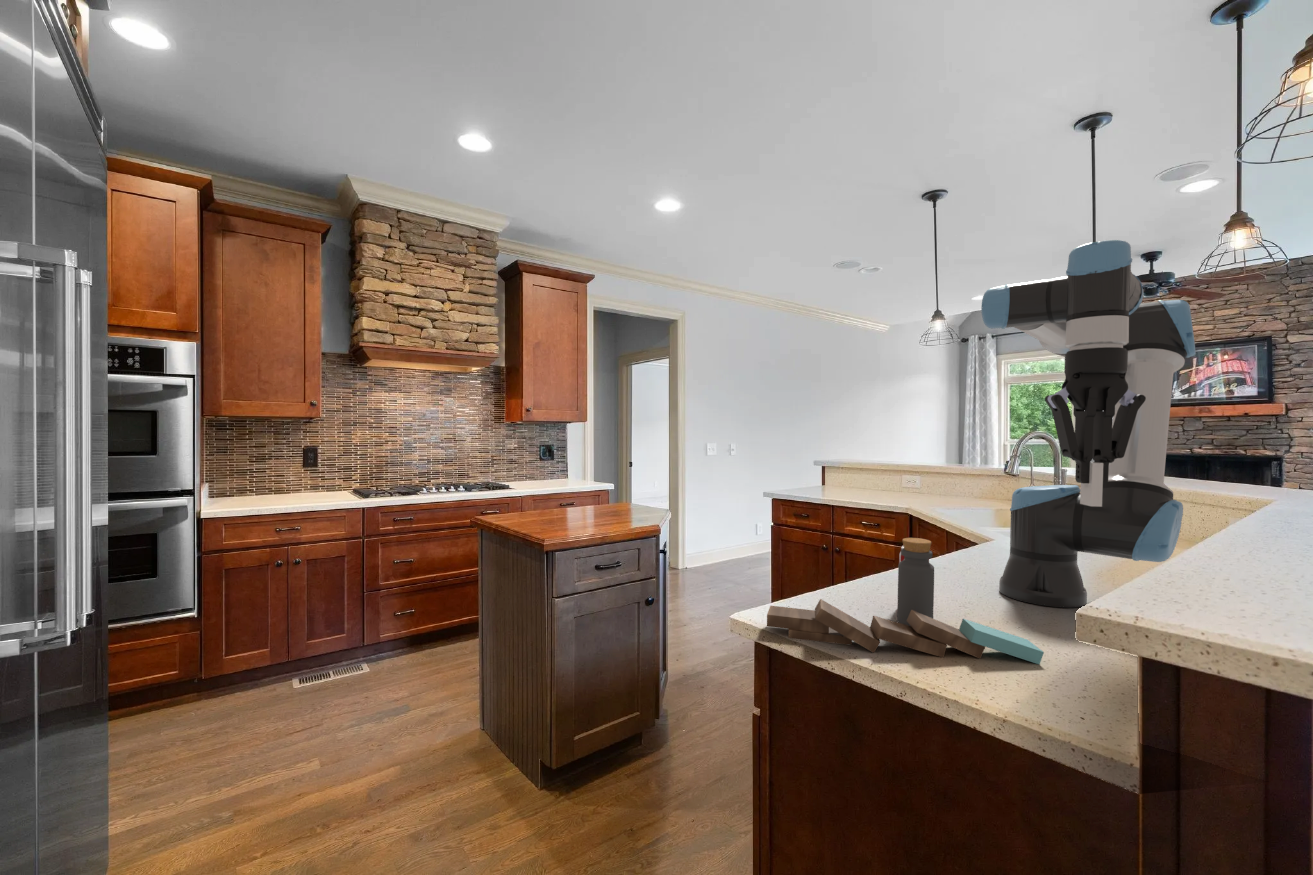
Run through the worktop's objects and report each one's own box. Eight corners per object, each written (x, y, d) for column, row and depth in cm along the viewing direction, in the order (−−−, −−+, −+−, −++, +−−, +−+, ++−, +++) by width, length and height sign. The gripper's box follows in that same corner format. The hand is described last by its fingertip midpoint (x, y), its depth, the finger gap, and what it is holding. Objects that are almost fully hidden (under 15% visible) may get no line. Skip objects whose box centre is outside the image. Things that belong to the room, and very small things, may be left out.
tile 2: (971, 634, 92) (911, 609, 93) (985, 646, 87) (921, 620, 88) (966, 645, 92) (906, 620, 93) (980, 658, 87) (916, 632, 88)
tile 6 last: (850, 626, 97) (790, 619, 100) (852, 637, 92) (788, 629, 95) (850, 638, 97) (789, 631, 100) (851, 649, 92) (788, 641, 95)
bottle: (891, 623, 102) (893, 540, 102) (905, 615, 106) (906, 535, 106) (925, 632, 98) (927, 545, 98) (938, 624, 102) (940, 540, 102)
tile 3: (935, 633, 92) (873, 615, 94) (946, 645, 88) (880, 626, 89) (932, 645, 93) (870, 627, 94) (943, 657, 88) (877, 638, 89)
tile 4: (876, 630, 94) (820, 598, 96) (880, 642, 89) (820, 608, 91) (870, 641, 94) (814, 608, 96) (873, 652, 89) (814, 618, 91)
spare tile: (1027, 639, 90) (962, 618, 92) (1043, 652, 85) (975, 629, 87) (1023, 651, 90) (958, 630, 92) (1039, 664, 85) (971, 641, 87)
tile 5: (829, 612, 98) (770, 605, 101) (828, 621, 93) (767, 614, 96) (829, 623, 98) (770, 616, 101) (828, 633, 93) (766, 626, 96)
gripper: (1125, 351, 89) (1120, 502, 90) (1035, 351, 90) (1031, 500, 91) (1162, 345, 81) (1156, 510, 82) (1063, 346, 83) (1058, 507, 84)
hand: (1090, 504), depth 87 cm, fingers closed
